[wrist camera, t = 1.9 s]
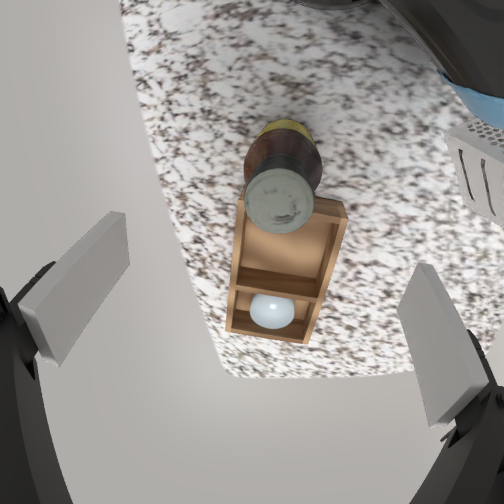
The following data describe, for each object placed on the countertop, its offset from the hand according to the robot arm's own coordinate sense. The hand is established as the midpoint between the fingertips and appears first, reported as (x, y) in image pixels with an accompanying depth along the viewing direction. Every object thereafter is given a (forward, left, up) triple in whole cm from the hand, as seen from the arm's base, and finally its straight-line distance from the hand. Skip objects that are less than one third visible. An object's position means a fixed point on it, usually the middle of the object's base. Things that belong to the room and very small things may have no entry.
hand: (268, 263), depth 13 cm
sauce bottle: (0, 0, -25) cm, 25 cm away
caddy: (+16, +2, -25) cm, 30 cm away
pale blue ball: (+21, +2, -24) cm, 32 cm away
